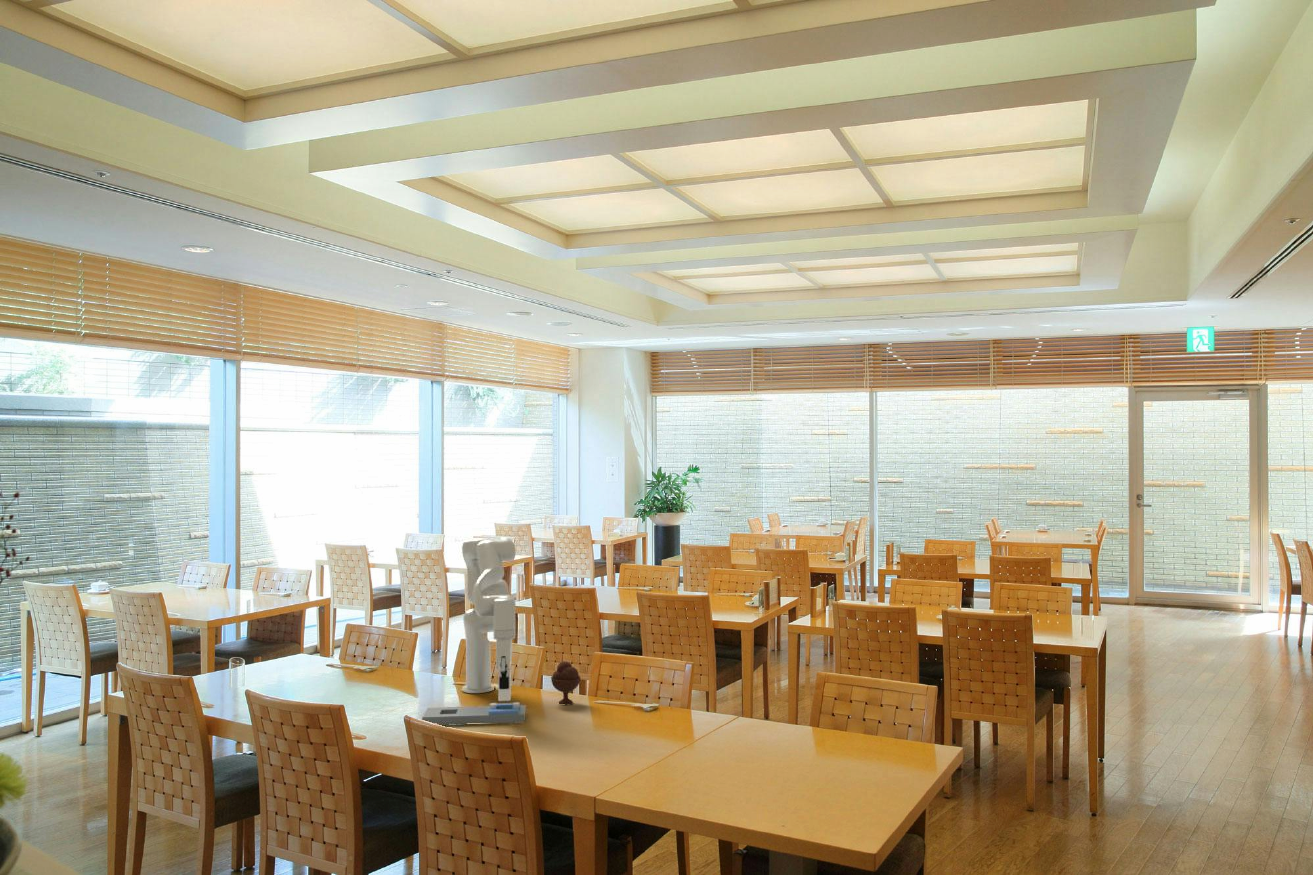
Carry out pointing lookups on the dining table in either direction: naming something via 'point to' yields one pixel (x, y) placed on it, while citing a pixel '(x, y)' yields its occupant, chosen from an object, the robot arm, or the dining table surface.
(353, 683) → the dining table surface
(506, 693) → the cord plug
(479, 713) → the board
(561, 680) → the ice cream bowl
